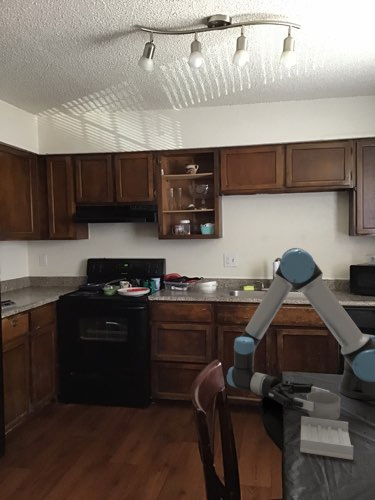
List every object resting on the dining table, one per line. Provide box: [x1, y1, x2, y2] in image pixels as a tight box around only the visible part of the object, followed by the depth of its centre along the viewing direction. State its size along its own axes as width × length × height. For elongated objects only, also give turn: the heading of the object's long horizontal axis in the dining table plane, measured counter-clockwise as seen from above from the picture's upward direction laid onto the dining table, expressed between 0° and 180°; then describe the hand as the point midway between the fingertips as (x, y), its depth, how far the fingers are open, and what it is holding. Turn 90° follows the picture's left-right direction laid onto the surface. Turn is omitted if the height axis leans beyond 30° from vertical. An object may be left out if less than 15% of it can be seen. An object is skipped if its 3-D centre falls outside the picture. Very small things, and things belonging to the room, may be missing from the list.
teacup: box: [306, 389, 342, 421], centre depth 143 cm, size 14×11×8 cm
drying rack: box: [299, 415, 354, 460], centre depth 127 cm, size 16×14×4 cm
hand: (321, 400), depth 143 cm, fingers open, 13 cm apart
